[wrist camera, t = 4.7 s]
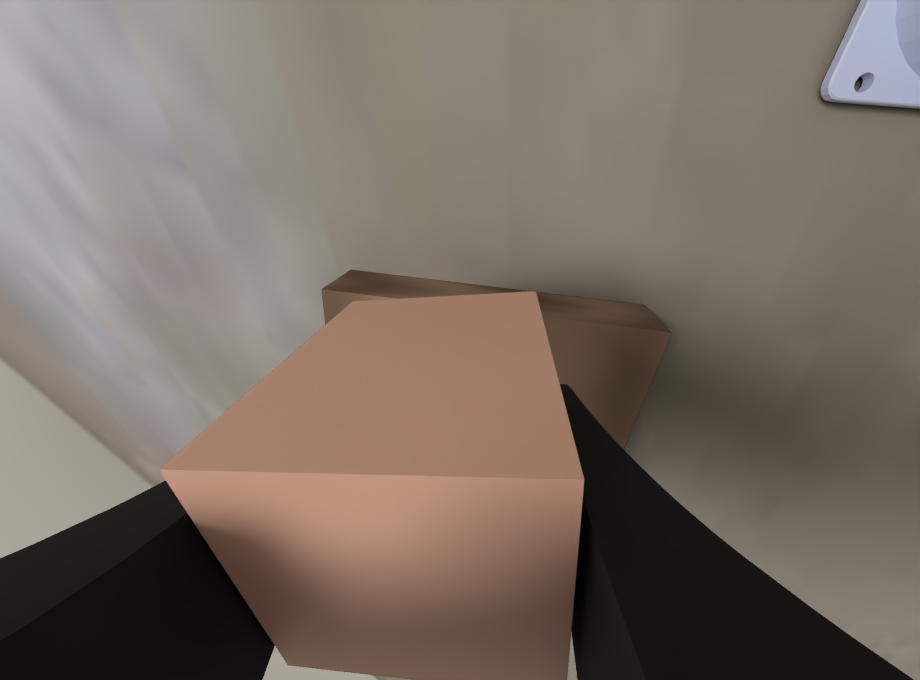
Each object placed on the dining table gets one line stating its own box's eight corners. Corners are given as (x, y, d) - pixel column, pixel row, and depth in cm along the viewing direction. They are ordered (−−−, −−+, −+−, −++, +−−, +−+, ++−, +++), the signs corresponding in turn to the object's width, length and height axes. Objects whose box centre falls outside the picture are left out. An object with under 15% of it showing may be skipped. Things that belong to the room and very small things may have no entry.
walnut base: (643, 304, 16) (672, 332, 13) (572, 505, 22) (581, 551, 20) (350, 269, 17) (321, 289, 14) (363, 471, 23) (345, 511, 20)
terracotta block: (535, 291, 9) (584, 478, 3) (535, 440, 11) (565, 697, 6) (352, 301, 9) (158, 469, 4) (386, 438, 12) (288, 665, 6)
